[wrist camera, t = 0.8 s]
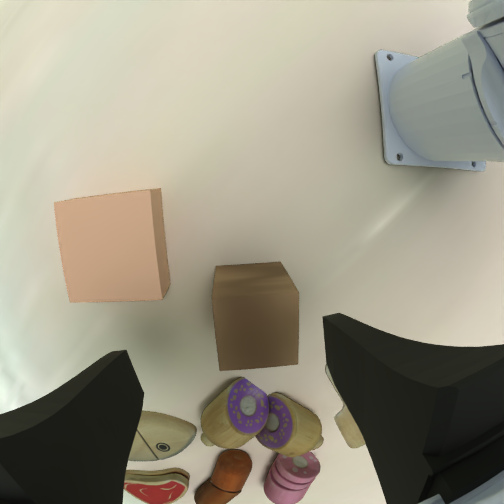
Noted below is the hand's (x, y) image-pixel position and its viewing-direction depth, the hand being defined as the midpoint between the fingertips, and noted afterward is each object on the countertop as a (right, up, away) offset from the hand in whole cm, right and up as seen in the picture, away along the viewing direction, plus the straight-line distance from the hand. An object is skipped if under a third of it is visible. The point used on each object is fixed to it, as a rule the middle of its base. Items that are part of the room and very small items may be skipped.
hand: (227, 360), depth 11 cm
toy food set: (-2, -14, +14) cm, 20 cm away
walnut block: (+1, +1, +10) cm, 10 cm away
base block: (-7, +5, +8) cm, 12 cm away
